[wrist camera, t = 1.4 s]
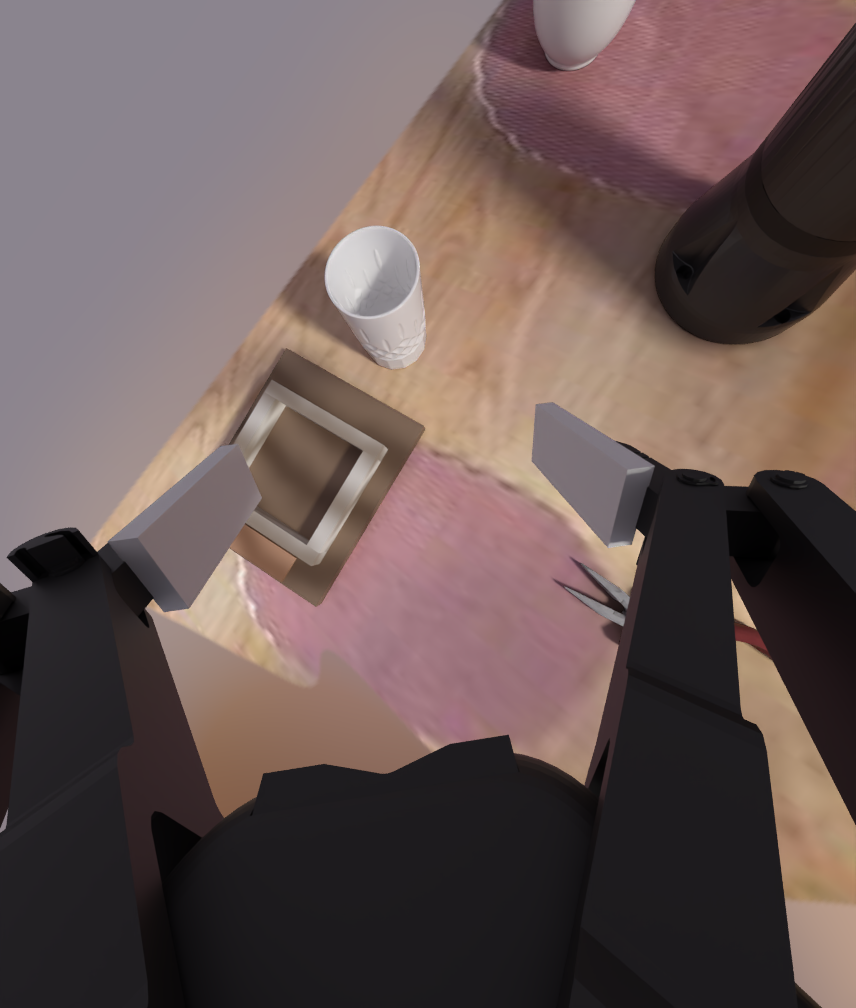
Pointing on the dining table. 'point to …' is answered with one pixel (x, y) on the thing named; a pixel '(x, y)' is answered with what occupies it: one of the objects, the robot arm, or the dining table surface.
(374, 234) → the white cup
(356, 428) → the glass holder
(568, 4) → the lidded jar
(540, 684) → the dining table surface
